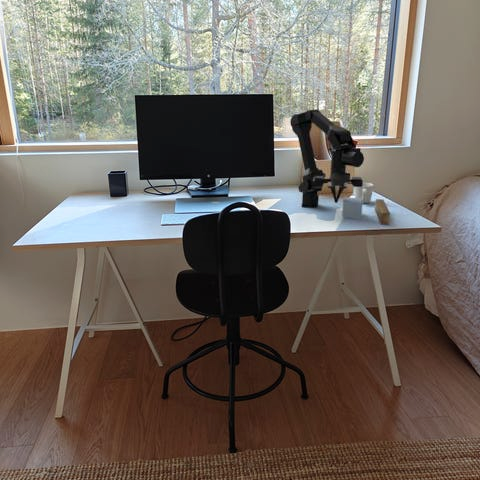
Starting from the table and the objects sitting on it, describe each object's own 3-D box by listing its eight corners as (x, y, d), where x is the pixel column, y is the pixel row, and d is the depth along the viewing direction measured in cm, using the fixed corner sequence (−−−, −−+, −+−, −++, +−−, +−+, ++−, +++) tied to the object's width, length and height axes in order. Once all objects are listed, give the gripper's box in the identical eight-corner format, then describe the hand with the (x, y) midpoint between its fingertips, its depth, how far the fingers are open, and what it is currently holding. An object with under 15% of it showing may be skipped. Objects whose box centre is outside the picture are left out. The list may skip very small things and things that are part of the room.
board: (380, 224, 159) (381, 212, 158) (374, 209, 178) (375, 199, 176) (388, 224, 159) (390, 213, 157) (382, 209, 177) (383, 199, 176)
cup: (373, 206, 182) (375, 188, 180) (354, 205, 184) (355, 187, 181) (371, 200, 192) (372, 182, 189) (353, 199, 194) (354, 182, 191)
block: (342, 218, 168) (343, 202, 165) (342, 213, 174) (343, 197, 172) (361, 218, 166) (362, 202, 164) (359, 213, 173) (361, 198, 171)
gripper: (313, 166, 159) (311, 207, 164) (365, 167, 155) (361, 209, 160) (314, 161, 169) (312, 199, 174) (363, 162, 165) (359, 201, 171)
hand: (336, 202), depth 170 cm, fingers closed
